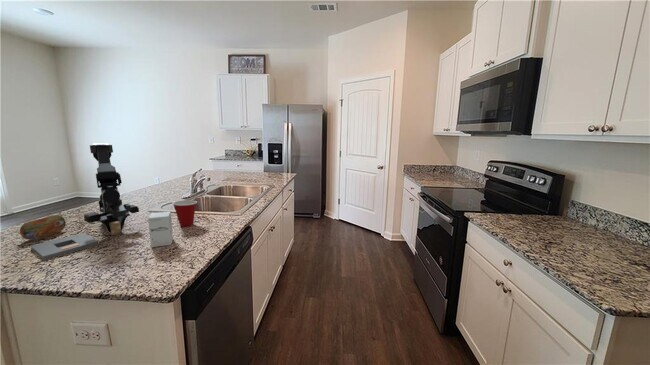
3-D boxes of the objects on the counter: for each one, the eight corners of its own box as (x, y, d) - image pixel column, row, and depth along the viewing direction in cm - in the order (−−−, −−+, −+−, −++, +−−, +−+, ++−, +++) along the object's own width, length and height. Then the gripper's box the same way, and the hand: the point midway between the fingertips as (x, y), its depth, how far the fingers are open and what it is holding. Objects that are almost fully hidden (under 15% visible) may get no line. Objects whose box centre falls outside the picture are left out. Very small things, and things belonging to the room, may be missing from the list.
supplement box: (150, 248, 106) (146, 218, 104) (154, 241, 113) (150, 212, 110) (171, 245, 109) (168, 216, 107) (173, 238, 116) (170, 210, 113)
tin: (26, 243, 109) (21, 224, 107) (20, 242, 110) (16, 223, 108) (67, 230, 123) (64, 212, 122) (62, 229, 124) (59, 212, 122)
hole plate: (83, 236, 117) (83, 232, 117) (98, 244, 109) (98, 240, 108) (31, 249, 103) (30, 245, 103) (43, 260, 95) (42, 255, 95)
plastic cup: (203, 221, 137) (201, 199, 135) (190, 229, 126) (188, 205, 124) (183, 220, 138) (181, 198, 136) (169, 228, 127) (167, 204, 125)
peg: (119, 231, 123) (117, 220, 122) (123, 232, 121) (121, 222, 120) (108, 233, 120) (107, 223, 119) (112, 235, 118) (111, 225, 117)
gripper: (91, 205, 105) (97, 242, 108) (142, 196, 121) (146, 228, 124) (80, 201, 111) (86, 236, 114) (131, 193, 126) (135, 223, 129)
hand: (115, 231), depth 120 cm, fingers closed on peg, 4 cm apart
